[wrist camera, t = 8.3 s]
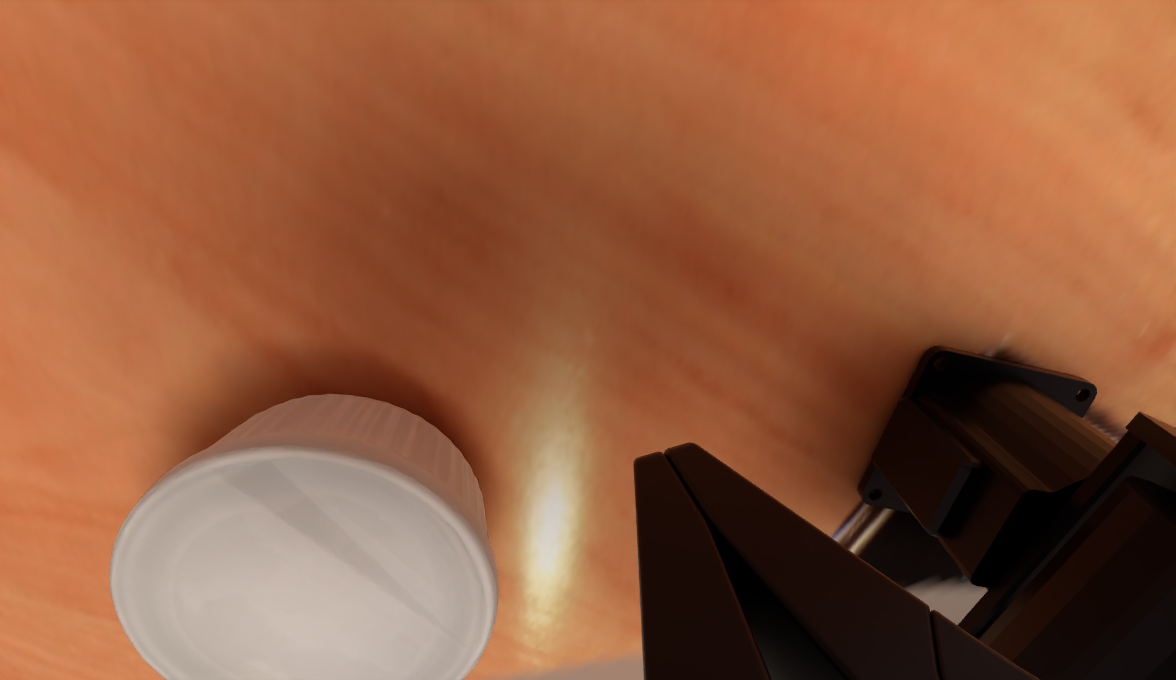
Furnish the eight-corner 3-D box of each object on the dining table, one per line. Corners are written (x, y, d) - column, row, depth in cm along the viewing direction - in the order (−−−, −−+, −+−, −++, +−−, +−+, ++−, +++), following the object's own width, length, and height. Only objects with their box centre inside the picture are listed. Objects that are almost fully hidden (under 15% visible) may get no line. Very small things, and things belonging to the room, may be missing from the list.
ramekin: (541, 406, 23) (536, 499, 18) (472, 633, 27) (453, 758, 22) (209, 327, 21) (106, 406, 16) (190, 582, 25) (103, 705, 21)
